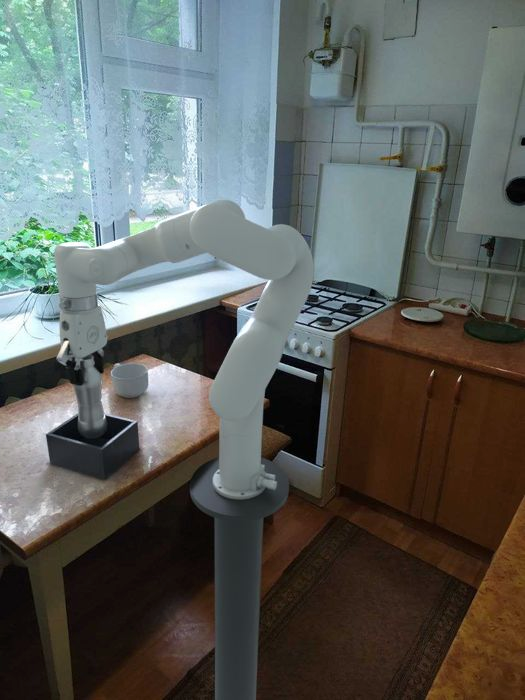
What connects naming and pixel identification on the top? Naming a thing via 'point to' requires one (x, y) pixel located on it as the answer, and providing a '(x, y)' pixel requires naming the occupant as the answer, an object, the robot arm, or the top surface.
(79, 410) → the plastic bottle
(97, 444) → the open box
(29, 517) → the top surface
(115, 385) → the teacup
